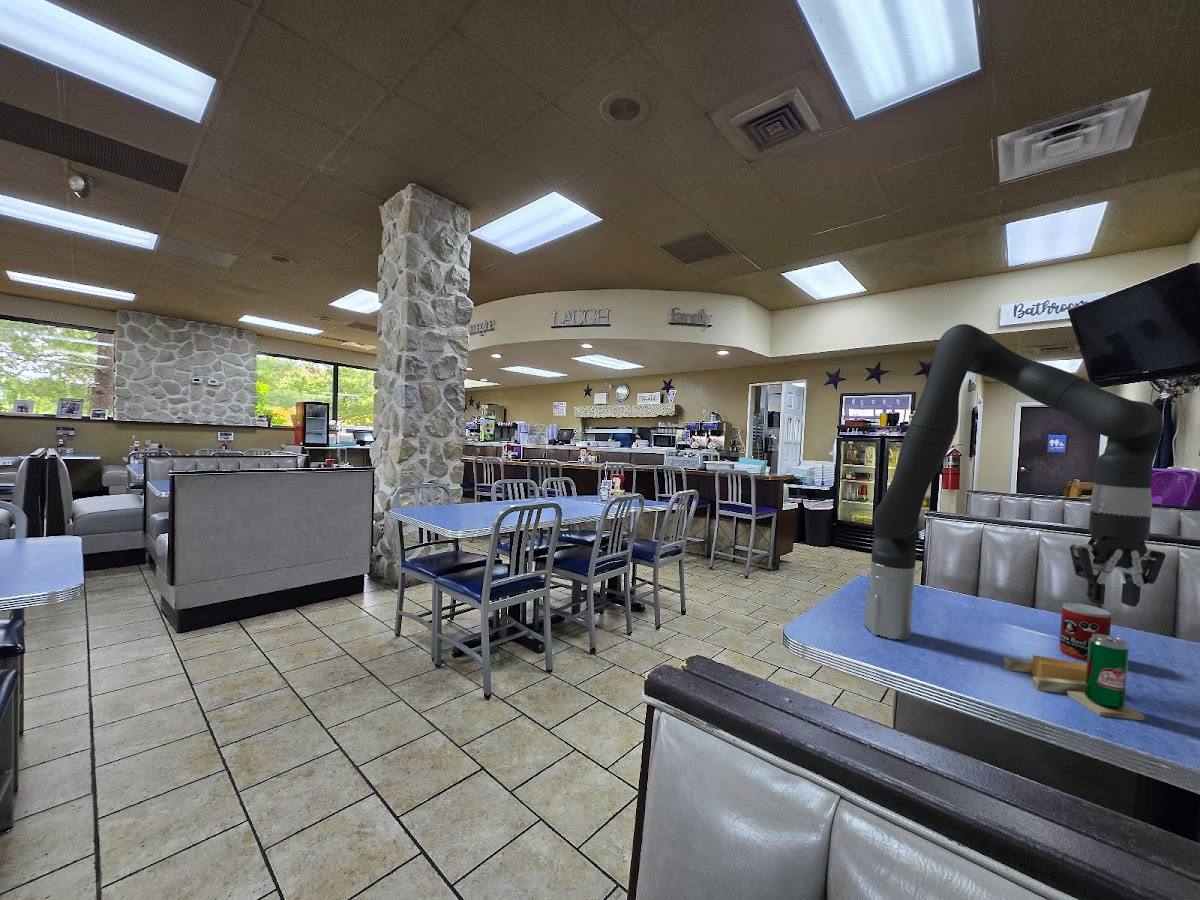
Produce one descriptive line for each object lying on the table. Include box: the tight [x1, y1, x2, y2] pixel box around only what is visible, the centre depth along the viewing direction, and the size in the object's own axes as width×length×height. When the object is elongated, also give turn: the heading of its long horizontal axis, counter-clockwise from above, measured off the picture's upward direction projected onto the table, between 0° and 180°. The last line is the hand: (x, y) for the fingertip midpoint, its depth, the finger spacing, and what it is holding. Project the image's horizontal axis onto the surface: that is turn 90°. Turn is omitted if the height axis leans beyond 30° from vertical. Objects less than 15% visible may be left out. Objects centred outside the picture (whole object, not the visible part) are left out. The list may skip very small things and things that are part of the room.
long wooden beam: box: [1030, 654, 1087, 681], centre depth 98 cm, size 10×4×4 cm, turn 68°
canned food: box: [1059, 602, 1112, 662], centre depth 111 cm, size 8×8×11 cm
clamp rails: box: [1003, 657, 1086, 694], centre depth 98 cm, size 14×10×2 cm, turn 83°
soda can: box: [1085, 634, 1130, 709], centre depth 89 cm, size 5×5×12 cm
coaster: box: [1066, 691, 1146, 721], centre depth 89 cm, size 7×7×1 cm
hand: (1112, 603), depth 88 cm, fingers open, 4 cm apart
